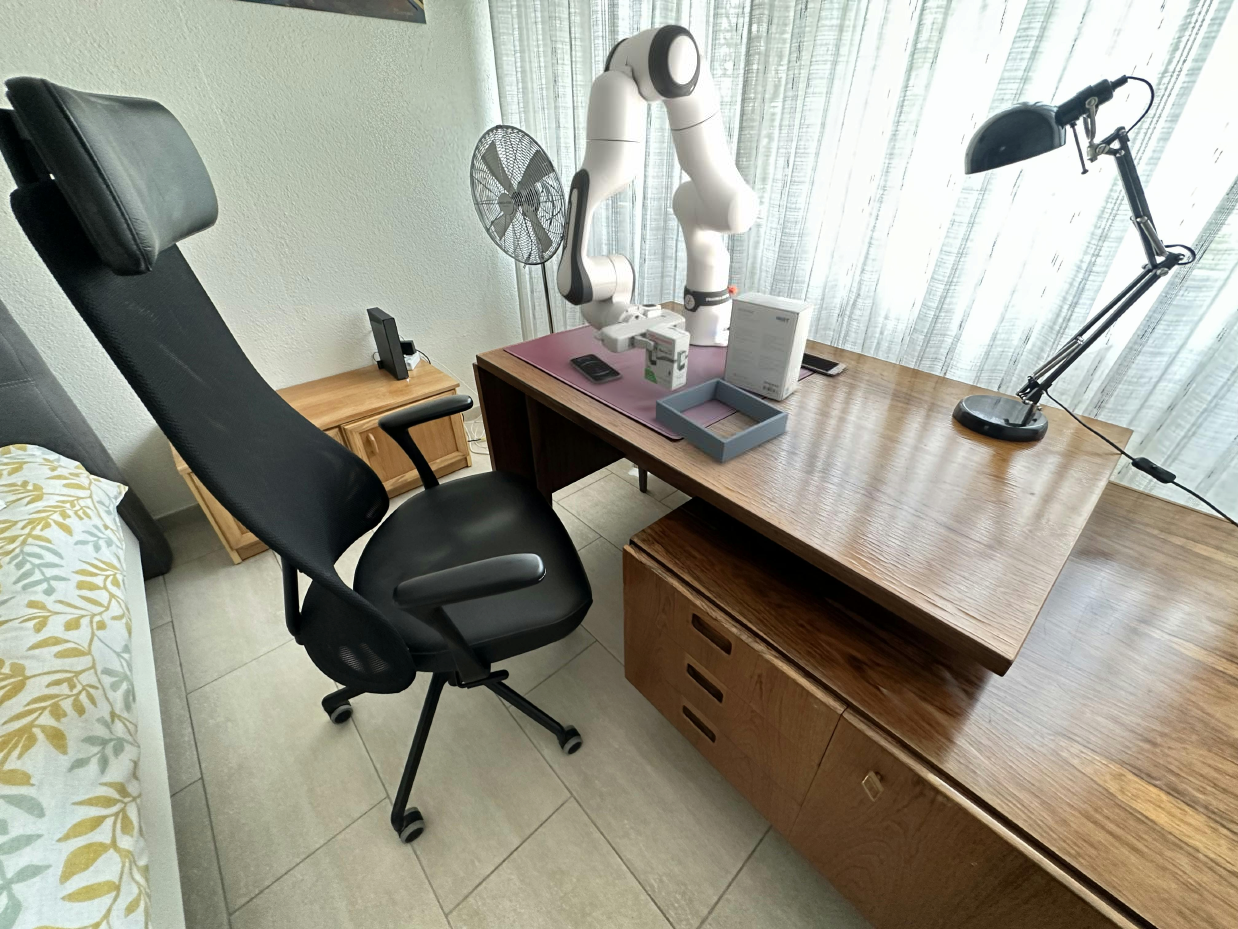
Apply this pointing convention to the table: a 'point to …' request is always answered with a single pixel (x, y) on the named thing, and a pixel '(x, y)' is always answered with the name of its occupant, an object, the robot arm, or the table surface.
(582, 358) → the smartphone
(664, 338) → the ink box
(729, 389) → the tub
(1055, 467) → the table surface
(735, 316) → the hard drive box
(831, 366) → the smartphone
